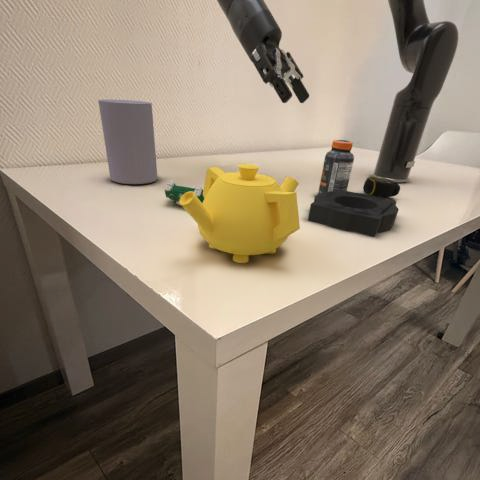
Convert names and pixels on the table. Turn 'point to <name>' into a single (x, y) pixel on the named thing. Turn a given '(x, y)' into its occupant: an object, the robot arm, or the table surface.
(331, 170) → the pill bottle
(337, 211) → the socket pad
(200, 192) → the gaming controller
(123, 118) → the container
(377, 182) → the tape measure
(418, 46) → the robot arm
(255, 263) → the table surface
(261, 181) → the teapot
